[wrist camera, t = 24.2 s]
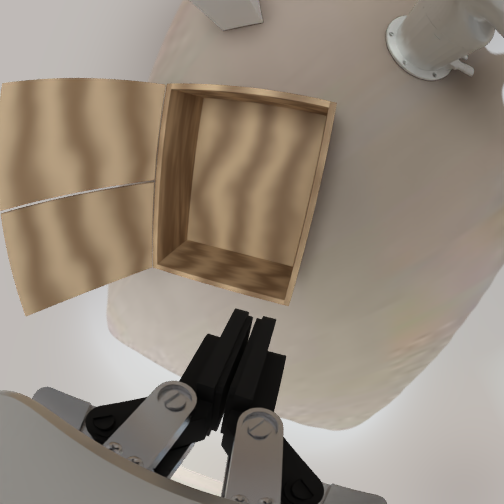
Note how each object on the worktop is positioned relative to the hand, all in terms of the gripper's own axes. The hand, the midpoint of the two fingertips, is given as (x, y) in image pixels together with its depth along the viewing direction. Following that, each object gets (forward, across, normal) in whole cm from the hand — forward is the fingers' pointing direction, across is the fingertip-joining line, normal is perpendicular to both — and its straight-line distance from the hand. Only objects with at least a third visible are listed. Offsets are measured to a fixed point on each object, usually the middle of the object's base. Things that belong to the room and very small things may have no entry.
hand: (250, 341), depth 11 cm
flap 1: (+15, +24, -6) cm, 29 cm away
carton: (+37, +9, +1) cm, 38 cm away
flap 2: (+15, +24, +8) cm, 29 cm away
